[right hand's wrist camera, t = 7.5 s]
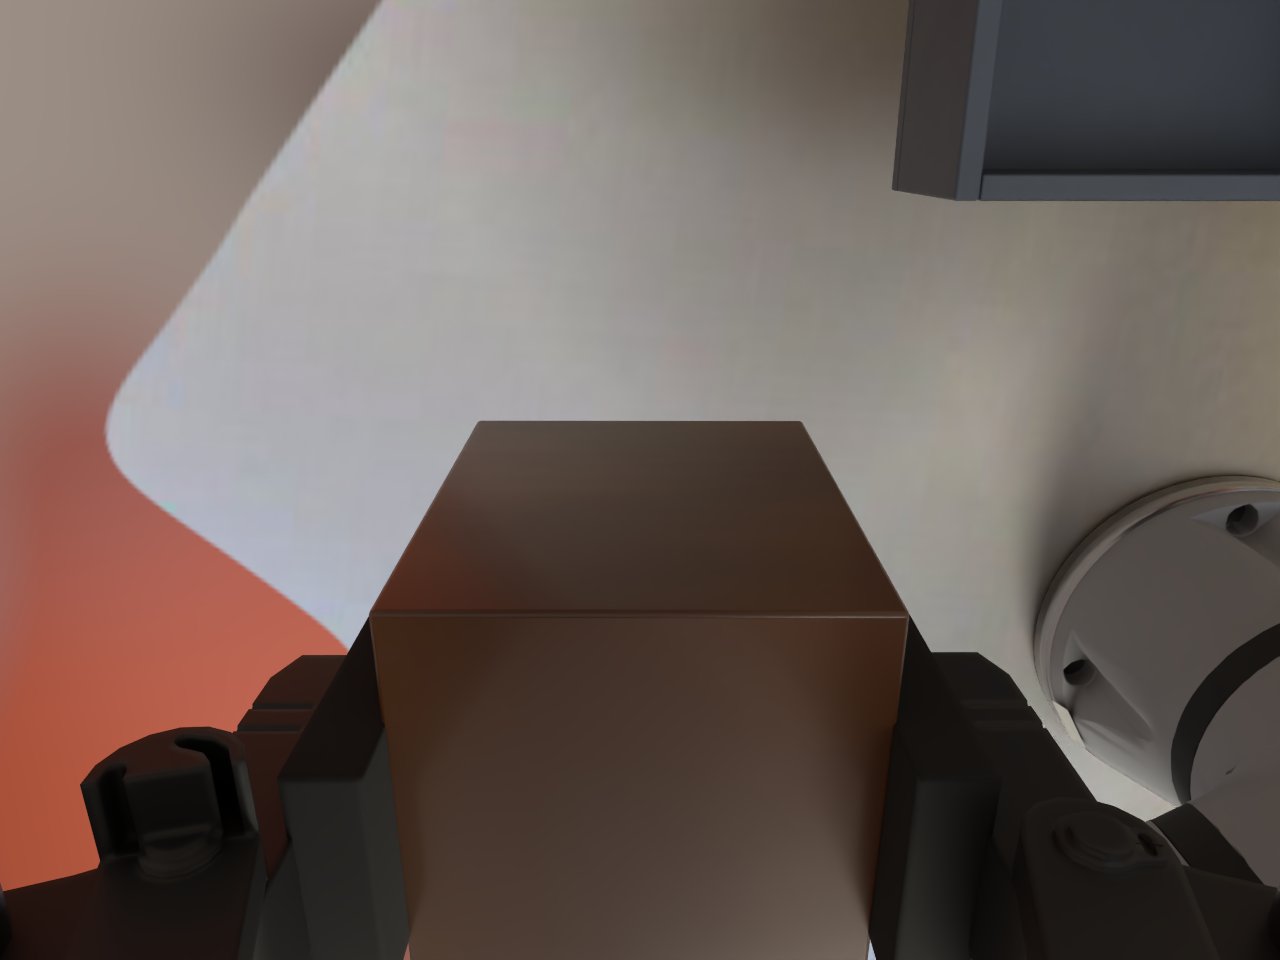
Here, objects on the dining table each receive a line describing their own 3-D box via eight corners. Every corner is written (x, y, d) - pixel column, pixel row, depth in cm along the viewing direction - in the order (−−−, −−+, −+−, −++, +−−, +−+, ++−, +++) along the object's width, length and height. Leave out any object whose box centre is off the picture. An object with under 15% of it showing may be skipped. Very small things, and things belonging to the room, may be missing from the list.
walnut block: (802, 420, 14) (911, 613, 8) (783, 695, 16) (863, 1008, 10) (477, 419, 14) (365, 613, 8) (496, 695, 16) (414, 1008, 10)
